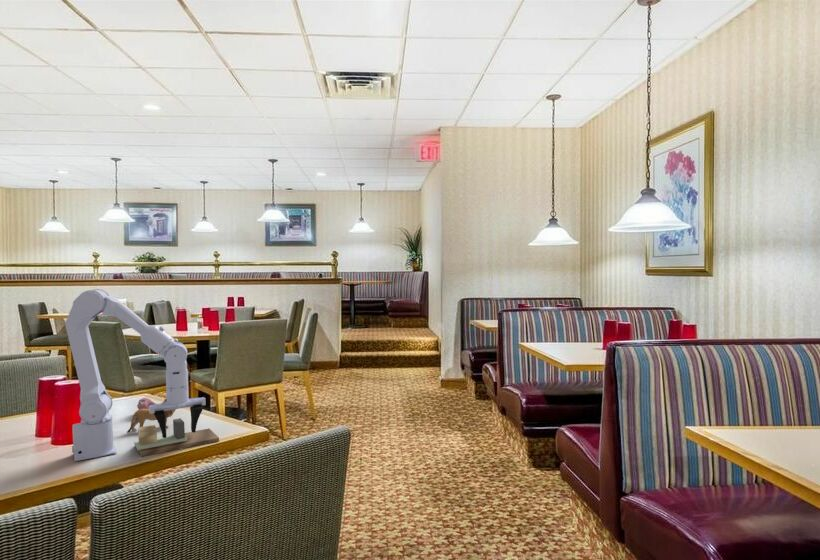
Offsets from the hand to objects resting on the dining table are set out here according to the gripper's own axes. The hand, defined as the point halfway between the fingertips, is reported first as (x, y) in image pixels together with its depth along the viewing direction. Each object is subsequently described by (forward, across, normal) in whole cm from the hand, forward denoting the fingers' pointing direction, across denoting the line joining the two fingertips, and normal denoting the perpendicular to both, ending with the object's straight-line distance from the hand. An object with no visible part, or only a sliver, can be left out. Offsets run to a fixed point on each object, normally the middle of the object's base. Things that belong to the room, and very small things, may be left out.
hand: (179, 434), depth 151 cm
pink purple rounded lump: (+3, -2, +39) cm, 39 cm away
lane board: (+2, 0, 0) cm, 3 cm away
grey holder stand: (+1, -5, 0) cm, 5 cm away
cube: (+1, -8, 0) cm, 8 cm away
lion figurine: (+3, -3, +20) cm, 21 cm away
